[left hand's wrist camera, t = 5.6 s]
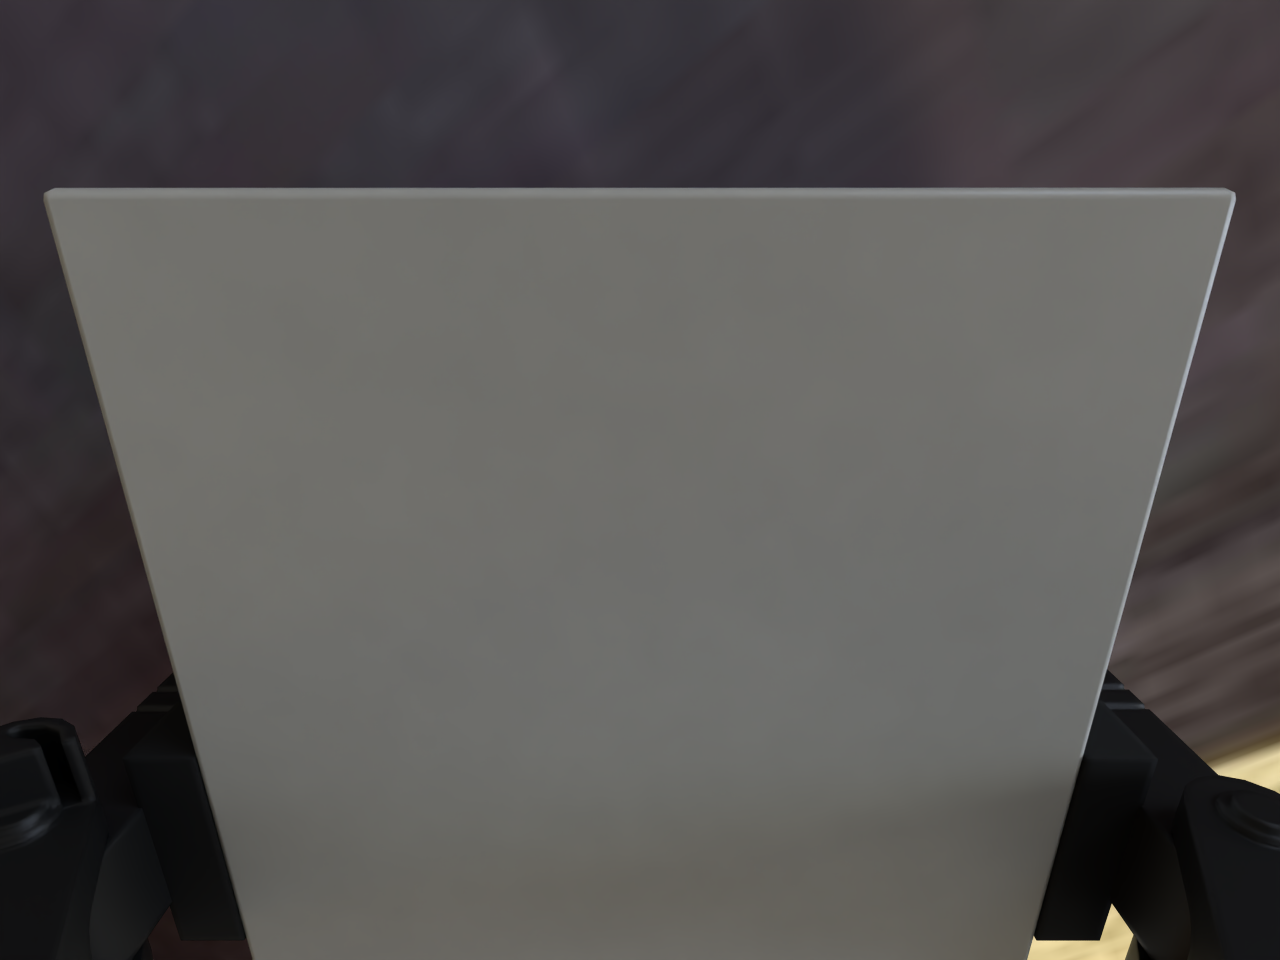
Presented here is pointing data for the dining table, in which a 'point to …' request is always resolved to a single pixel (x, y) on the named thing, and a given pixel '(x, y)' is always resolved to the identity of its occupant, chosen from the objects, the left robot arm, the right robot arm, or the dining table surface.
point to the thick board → (639, 546)
